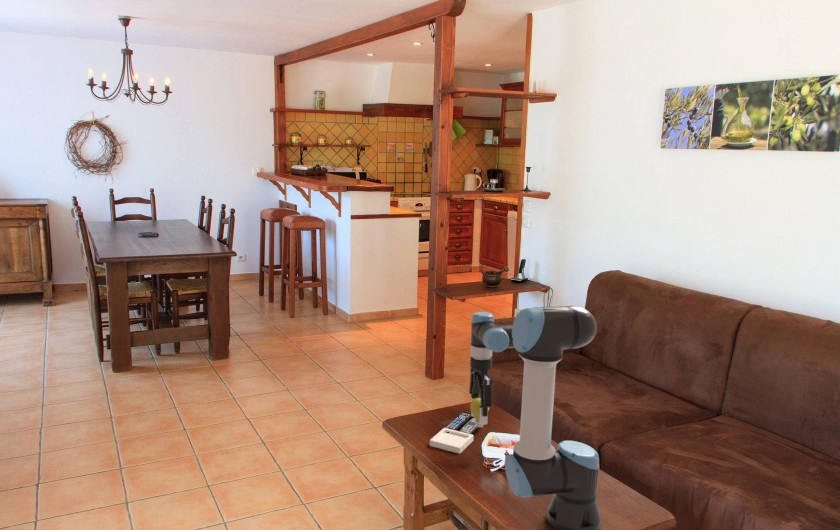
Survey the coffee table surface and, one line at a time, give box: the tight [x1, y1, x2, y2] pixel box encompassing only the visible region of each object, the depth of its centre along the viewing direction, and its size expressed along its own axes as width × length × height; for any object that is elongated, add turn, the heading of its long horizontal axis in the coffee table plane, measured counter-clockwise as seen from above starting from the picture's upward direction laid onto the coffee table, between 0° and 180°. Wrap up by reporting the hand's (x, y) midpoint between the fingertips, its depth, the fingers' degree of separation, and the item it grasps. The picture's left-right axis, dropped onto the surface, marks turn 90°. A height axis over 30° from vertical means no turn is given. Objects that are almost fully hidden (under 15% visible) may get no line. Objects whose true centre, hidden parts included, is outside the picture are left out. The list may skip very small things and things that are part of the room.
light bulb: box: [469, 397, 490, 428], centre depth 223 cm, size 7×7×10 cm
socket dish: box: [429, 427, 474, 454], centre depth 233 cm, size 12×12×2 cm
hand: (479, 419), depth 223 cm, fingers closed on light bulb, 7 cm apart
